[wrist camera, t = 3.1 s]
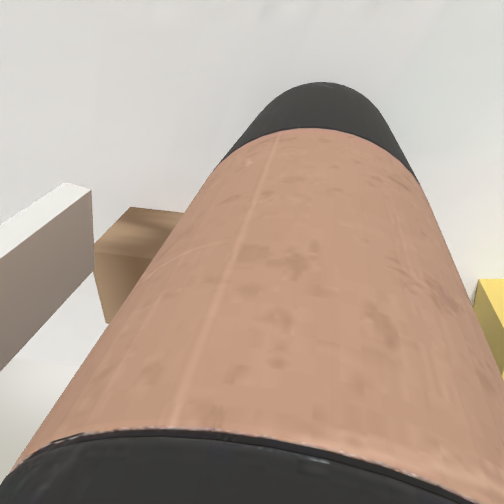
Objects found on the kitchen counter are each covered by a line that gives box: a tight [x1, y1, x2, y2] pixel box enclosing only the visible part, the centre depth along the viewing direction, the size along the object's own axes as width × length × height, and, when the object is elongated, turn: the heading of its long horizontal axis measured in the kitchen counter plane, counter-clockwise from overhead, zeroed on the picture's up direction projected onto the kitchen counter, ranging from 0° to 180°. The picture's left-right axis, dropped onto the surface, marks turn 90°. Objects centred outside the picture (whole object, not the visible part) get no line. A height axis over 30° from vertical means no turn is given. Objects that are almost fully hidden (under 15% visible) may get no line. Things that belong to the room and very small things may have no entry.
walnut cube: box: [93, 207, 184, 324], centre depth 23 cm, size 5×5×5 cm
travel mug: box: [0, 82, 504, 504], centre depth 11 cm, size 8×8×20 cm
